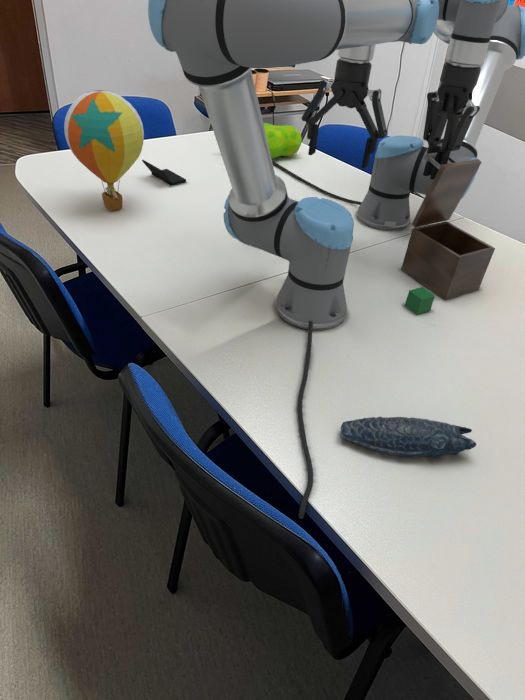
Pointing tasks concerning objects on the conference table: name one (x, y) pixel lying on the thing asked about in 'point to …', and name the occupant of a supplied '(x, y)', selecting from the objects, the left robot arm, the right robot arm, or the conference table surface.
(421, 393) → the conference table surface
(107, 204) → the toy
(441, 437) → the fish model
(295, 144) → the decorative tree
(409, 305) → the block
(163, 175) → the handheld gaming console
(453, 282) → the chest
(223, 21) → the left robot arm
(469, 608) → the conference table surface
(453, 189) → the lid
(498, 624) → the conference table surface
